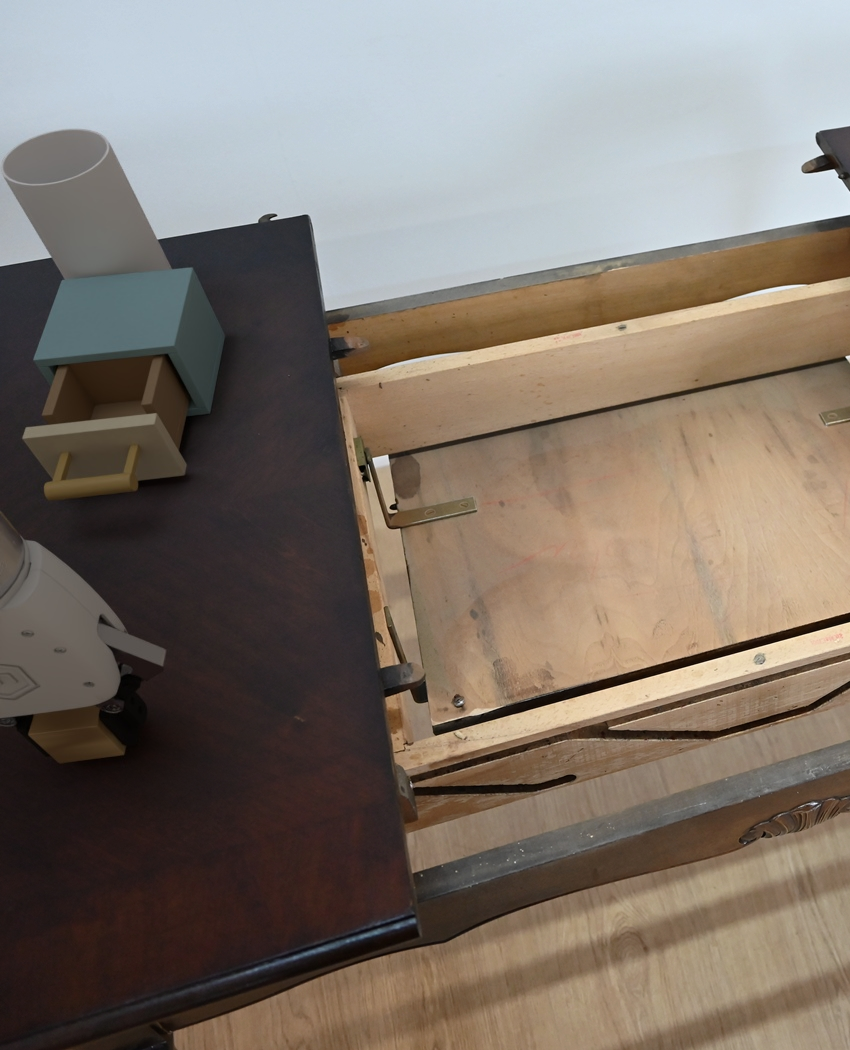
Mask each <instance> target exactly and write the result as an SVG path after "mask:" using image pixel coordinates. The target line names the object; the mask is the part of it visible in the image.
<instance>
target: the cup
mask: <svg viewBox="0 0 850 1050" xmlns="http://www.w3.org/2000/svg"><path fill="white" fill-rule="evenodd" d="M0 172H1V174H2V176H3V178H4V180H5V182H6V183H7V186H8V187H9V189H10V190H11V192H12V194H13V195H14V197H15V199H16V201H17V202H18V204H19V205H20V207H21V209H22V210H23V212H24V214H25V215H26V217H27V219H28V221H29V222H30V224H31V225H32V227H33V229H34V230H35V232H36V234H37V235H38V237H39V239H40V240H41V242H42V244H43V245H44V247H45V249H46V251H47V252H48V254H49V256H50V257H51V259H52V261H53V262H54V264H55V266H56V268H57V269H58V271H59V272H60V274H61V276H62V277H63V280H66V279H77V278H87V277H97V276H108V275H118V274H128V273H139V272H149V271H159V270H170V269H173V268H172V265H171V264H170V262H169V260H168V257H167V255H166V253H165V252H164V250H163V247H162V246H161V244H160V242H159V239H158V237H157V236H156V233H155V232H154V230H153V227H152V225H151V224H150V222H149V219H148V218H147V216H146V213H145V211H144V209H143V207H142V205H141V203H140V201H139V200H138V197H137V195H136V193H135V191H134V189H133V187H132V185H131V183H130V181H129V179H128V177H127V175H126V173H125V171H124V169H123V166H122V165H121V163H120V160H119V159H118V157H117V155H116V152H115V151H114V149H113V147H112V144H111V143H110V142H109V140H108V139H107V137H106V136H105V135H104V134H101V133H100V132H98V131H95V130H91V129H85V128H64V129H57V130H52V131H48V132H44V133H41V134H37V135H35V136H33V137H30V138H28V139H26V140H24V141H22V142H20V143H18V144H17V145H16V146H14V147H13V148H12V149H10V150H9V151H8V152H7V153H6V154H5V156H4V157H3V159H2V160H1V163H0Z"/></svg>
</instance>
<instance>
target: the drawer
mask: <svg viewBox="0 0 850 1050" xmlns="http://www.w3.org/2000/svg"><path fill="white" fill-rule="evenodd" d="M189 401H190V394H189V392H188V390H187V388H186V386H185V384H184V383H183V381H182V379H181V377H180V375H179V373H178V371H177V370H176V368H175V366H174V364H173V362H172V360H171V358H170V356H169V355H168V354H159V355H150V356H140V357H130V358H121V359H111V360H102V361H92V362H82V363H73V364H63V365H58V368H57V371H56V374H55V377H54V380H53V383H52V386H50V388H49V392H48V395H47V398H46V401H45V403H44V407H43V410H42V412H41V417H42V418H43V420H44V421H45V422H46V424H45V425H44V424H43V425H36V426H26V427H25V429H24V432H23V435H22V437H21V439H22V440H23V442H24V444H25V445H26V446H27V447H28V448H29V450H30V451H31V453H32V454H33V455H34V457H35V458H36V459H37V460H38V462H39V463H40V465H41V466H42V467H43V469H44V470H45V471H46V473H47V474H48V476H50V478H51V479H52V480H51V481H47V482H45V483H44V486H43V493H44V496H45V498H46V500H48V501H50V502H53V501H63V500H71V499H79V498H88V497H89V498H90V497H96V496H97V497H98V496H106V495H114V494H123V493H131V492H136V491H138V488H139V481H149V480H155V479H164V478H172V477H173V478H174V477H182V476H185V475H186V471H187V466H188V465H187V462H186V461H185V459H184V457H183V455H182V454H181V452H180V446H181V443H182V438H183V437H182V436H183V433H184V428H185V423H186V419H187V416H186V415H187V410H188V405H189Z"/></svg>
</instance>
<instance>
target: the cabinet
mask: <svg viewBox="0 0 850 1050" xmlns="http://www.w3.org/2000/svg"><path fill="white" fill-rule="evenodd" d="M225 339H226V335H225V332H224V330H223V328H222V326H221V324H220V322H219V319H218V318H217V315H216V314H215V311H214V309H213V307H212V305H211V303H210V301H209V298H208V296H207V294H206V292H205V290H204V288H203V286H202V283H201V281H200V280H199V277H198V275H197V273H196V271H195V269H194V267H192V266H191V267H182V268H172V269H170V270H159V271H149V272H139V273H128V274H118V275H108V276H97V277H87V278H77V279H66V280H65V279H62V280H61V281H60V283H59V287H58V290H57V293H56V295H55V299H54V301H53V304H52V306H51V309H50V312H49V315H48V317H47V320H46V323H45V325H44V328H43V331H42V333H41V336H40V339H39V342H38V345H37V348H36V351H35V353H34V356H33V359H32V361H33V363H34V364H35V365H36V367H37V369H38V370H39V372H40V373H41V374H42V377H44V379H45V380H46V382H47V383H48V385H49V386H50V387H51V386H52V383H53V380H54V377H55V374H56V371H57V368H58V365H63V364H73V363H82V362H92V361H102V360H111V359H121V358H130V357H140V356H150V355H159V354H168V355H169V356H170V358H171V360H172V362H173V364H174V366H175V368H176V370H177V371H178V373H179V375H180V377H181V379H182V381H183V383H184V384H185V386H186V388H187V390H188V392H189V394H190V401H189V405H188V410H187V415H186V417H193V416H194V417H195V416H203V415H210V414H211V411H212V406H213V401H214V396H215V390H216V385H217V379H218V376H219V375H218V374H219V369H220V364H221V360H222V354H223V349H224V345H225Z"/></svg>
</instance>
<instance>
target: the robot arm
mask: <svg viewBox="0 0 850 1050" xmlns="http://www.w3.org/2000/svg"><path fill="white" fill-rule="evenodd" d="M167 656H168V650H167V649H166V648H164V647H162V646H159V645H157V644H154V643H152V642H149V641H147V640H144V639H142V638H139V637H137V636H134V635H133V634H130V633H129V632H128V631H127V629H126V627H125V625H124V623H123V622H122V621H121V619H120V618H119V616H118V615H117V614H116V612H115V611H114V610H113V609H112V608H111V607H110V605H109V604H108V603H107V602H106V601H105V600H104V599H103V597H101V595H100V594H98V592H97V591H96V590H95V589H94V588H93V587H92V585H90V584H89V583H88V582H87V581H86V580H85V579H84V578H83V577H82V576H80V575H79V574H78V573H77V571H75V570H74V569H73V568H71V567H70V566H69V565H68V564H67V563H65V561H63V560H62V559H61V558H59V557H58V556H57V555H55V554H54V553H53V552H51V550H48V548H46V547H45V546H43V545H42V544H40V542H37V541H35V540H28V539H24V538H23V536H22V535H21V533H20V532H19V531H18V530H17V529H16V528H15V527H14V525H13V524H12V522H10V520H9V519H8V518H7V517H6V516H5V514H4V513H3V512H2V511H1V510H0V727H2V728H12V727H15V728H16V731H17V732H18V733H19V734H20V735H21V736H22V737H23V738H24V739H26V740H27V741H28V742H29V743H30V744H31V745H32V746H33V747H34V748H35V749H37V751H39V752H40V753H41V754H42V755H43V756H44V757H46V758H49V757H51V756H50V755H49V754H48V753H47V752H46V751H45V750H44V749H43V748H42V747H41V746H40V745H38V744H37V743H36V742H35V741H34V740H33V739H32V738H31V737H30V736H29V735H28V733H29V730H30V726H31V723H32V719H33V715H34V714H38V713H46V712H53V711H61V710H68V709H75V708H81V707H87V706H92V705H95V706H96V707H98V708H99V709H100V711H99V718H100V720H101V722H102V723H103V724H104V725H105V726H106V727H107V728H108V729H109V730H110V731H111V732H112V733H113V734H114V735H115V736H116V737H117V739H118V740H119V741H120V742H121V743H122V744H124V745H125V746H126V747H131V746H133V747H134V746H136V745H137V743H138V738H139V733H140V728H141V727H142V726H144V725H146V722H147V717H148V707H147V703H146V702H145V701H144V699H143V697H141V696H140V695H139V693H138V692H137V691H138V690H139V689H140V688H141V685H142V683H143V682H145V681H146V682H147V681H149V680H151V679H153V678H154V677H156V676H158V675H159V674H161V673H163V672H164V671H165V667H166V661H167V658H168V657H167Z"/></svg>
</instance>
